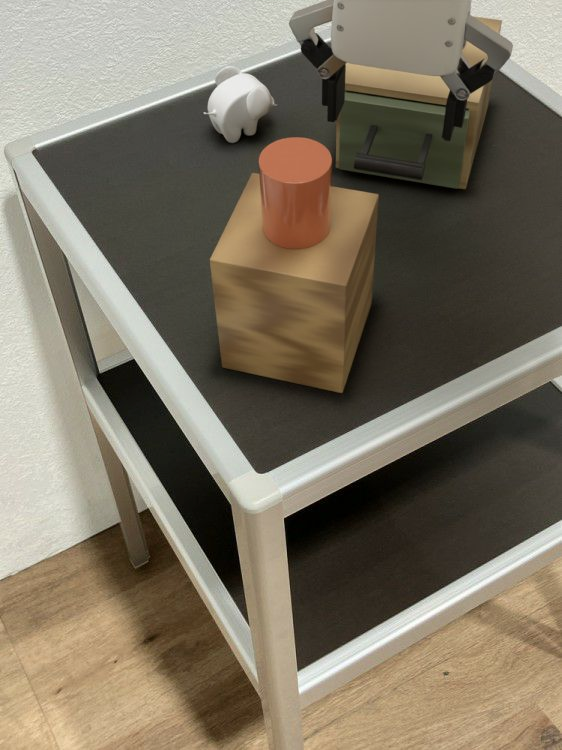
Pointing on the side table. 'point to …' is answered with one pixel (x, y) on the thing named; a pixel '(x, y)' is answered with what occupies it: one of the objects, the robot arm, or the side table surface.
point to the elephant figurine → (237, 103)
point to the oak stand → (295, 292)
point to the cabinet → (425, 93)
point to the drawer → (400, 140)
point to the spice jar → (295, 192)
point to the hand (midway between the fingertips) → (391, 121)
